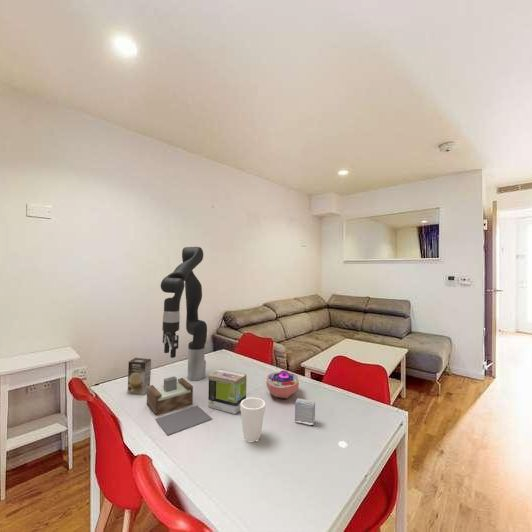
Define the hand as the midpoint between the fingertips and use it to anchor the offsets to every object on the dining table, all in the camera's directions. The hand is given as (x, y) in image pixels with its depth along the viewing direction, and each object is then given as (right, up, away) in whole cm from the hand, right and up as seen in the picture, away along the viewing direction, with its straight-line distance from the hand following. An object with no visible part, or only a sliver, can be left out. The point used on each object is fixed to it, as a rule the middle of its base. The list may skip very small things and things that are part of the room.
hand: (169, 355), depth 132 cm
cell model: (+53, -24, +11) cm, 60 cm away
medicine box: (+61, -24, -13) cm, 67 cm away
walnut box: (0, -23, -1) cm, 23 cm away
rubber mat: (+11, -23, -14) cm, 29 cm away
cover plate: (+1, -17, -1) cm, 17 cm away
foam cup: (+40, -24, -25) cm, 53 cm away
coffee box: (-19, -22, +11) cm, 31 cm away
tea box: (+27, -24, -1) cm, 36 cm away
